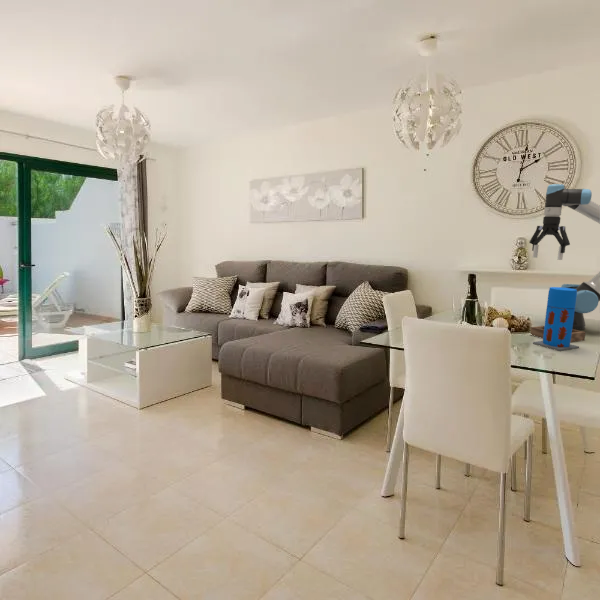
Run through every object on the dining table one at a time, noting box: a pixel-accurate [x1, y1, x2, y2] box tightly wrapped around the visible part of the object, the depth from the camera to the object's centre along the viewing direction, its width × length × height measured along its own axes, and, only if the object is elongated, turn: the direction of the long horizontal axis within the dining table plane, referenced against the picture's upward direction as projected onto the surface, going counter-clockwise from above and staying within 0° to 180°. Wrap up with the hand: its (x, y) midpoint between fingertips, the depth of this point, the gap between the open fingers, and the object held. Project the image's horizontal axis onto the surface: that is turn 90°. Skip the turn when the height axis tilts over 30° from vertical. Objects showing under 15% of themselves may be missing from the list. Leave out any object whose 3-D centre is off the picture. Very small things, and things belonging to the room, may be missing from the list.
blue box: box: [542, 286, 577, 347], centre depth 200 cm, size 11×11×25 cm
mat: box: [532, 340, 580, 352], centre depth 202 cm, size 13×13×1 cm
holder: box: [529, 325, 586, 343], centre depth 218 cm, size 16×16×4 cm
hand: (547, 258), depth 230 cm, fingers open, 13 cm apart
